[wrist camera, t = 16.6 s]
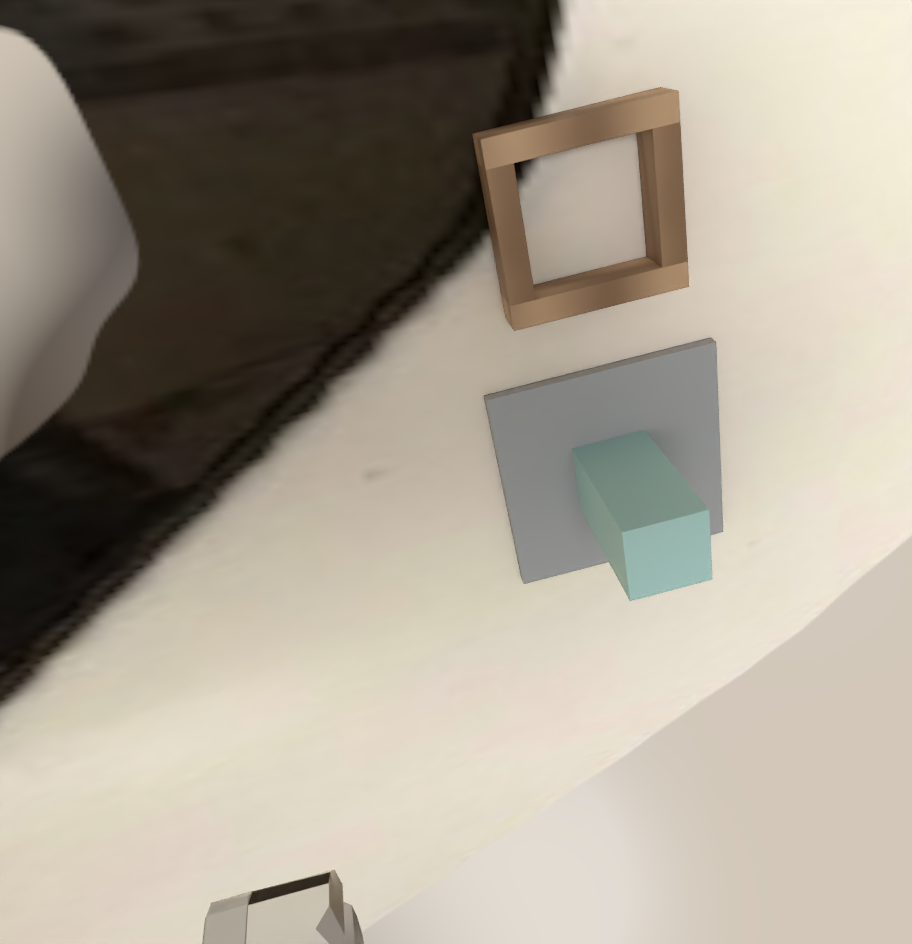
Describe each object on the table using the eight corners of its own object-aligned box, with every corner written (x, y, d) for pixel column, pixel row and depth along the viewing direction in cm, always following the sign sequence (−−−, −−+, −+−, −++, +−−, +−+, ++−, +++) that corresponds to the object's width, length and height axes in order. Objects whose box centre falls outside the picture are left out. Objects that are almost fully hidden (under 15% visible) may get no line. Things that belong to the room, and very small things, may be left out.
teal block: (581, 510, 44) (630, 600, 37) (571, 448, 42) (622, 532, 35) (650, 492, 44) (712, 579, 37) (644, 429, 42) (709, 510, 35)
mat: (521, 577, 46) (524, 584, 46) (483, 395, 40) (485, 400, 40) (718, 526, 47) (723, 531, 46) (710, 337, 40) (716, 341, 40)
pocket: (505, 317, 38) (514, 330, 37) (472, 133, 34) (480, 139, 32) (672, 274, 38) (689, 286, 37) (660, 87, 34) (678, 90, 32)
